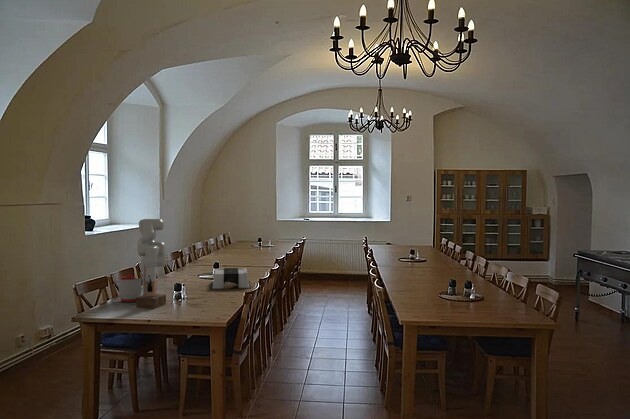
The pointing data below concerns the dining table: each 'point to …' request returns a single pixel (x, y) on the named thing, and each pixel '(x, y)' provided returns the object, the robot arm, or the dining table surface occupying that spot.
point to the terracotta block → (154, 288)
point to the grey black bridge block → (230, 279)
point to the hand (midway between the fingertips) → (151, 290)
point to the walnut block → (150, 301)
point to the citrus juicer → (129, 288)
